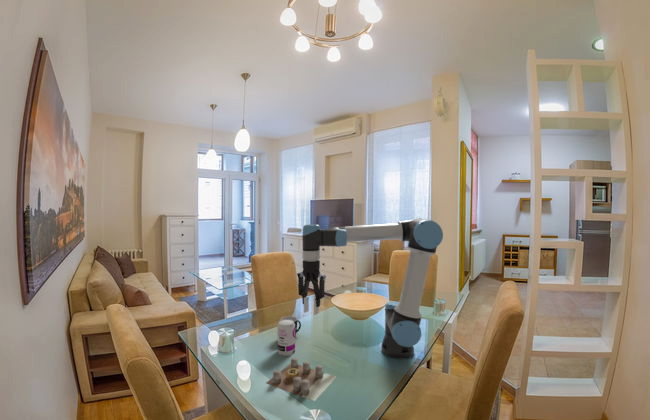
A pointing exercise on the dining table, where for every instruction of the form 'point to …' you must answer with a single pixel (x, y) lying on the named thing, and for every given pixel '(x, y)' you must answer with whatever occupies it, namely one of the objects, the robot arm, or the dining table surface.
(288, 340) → the supplement can
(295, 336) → the mug
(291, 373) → the brass nut
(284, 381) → the board
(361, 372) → the dining table surface
